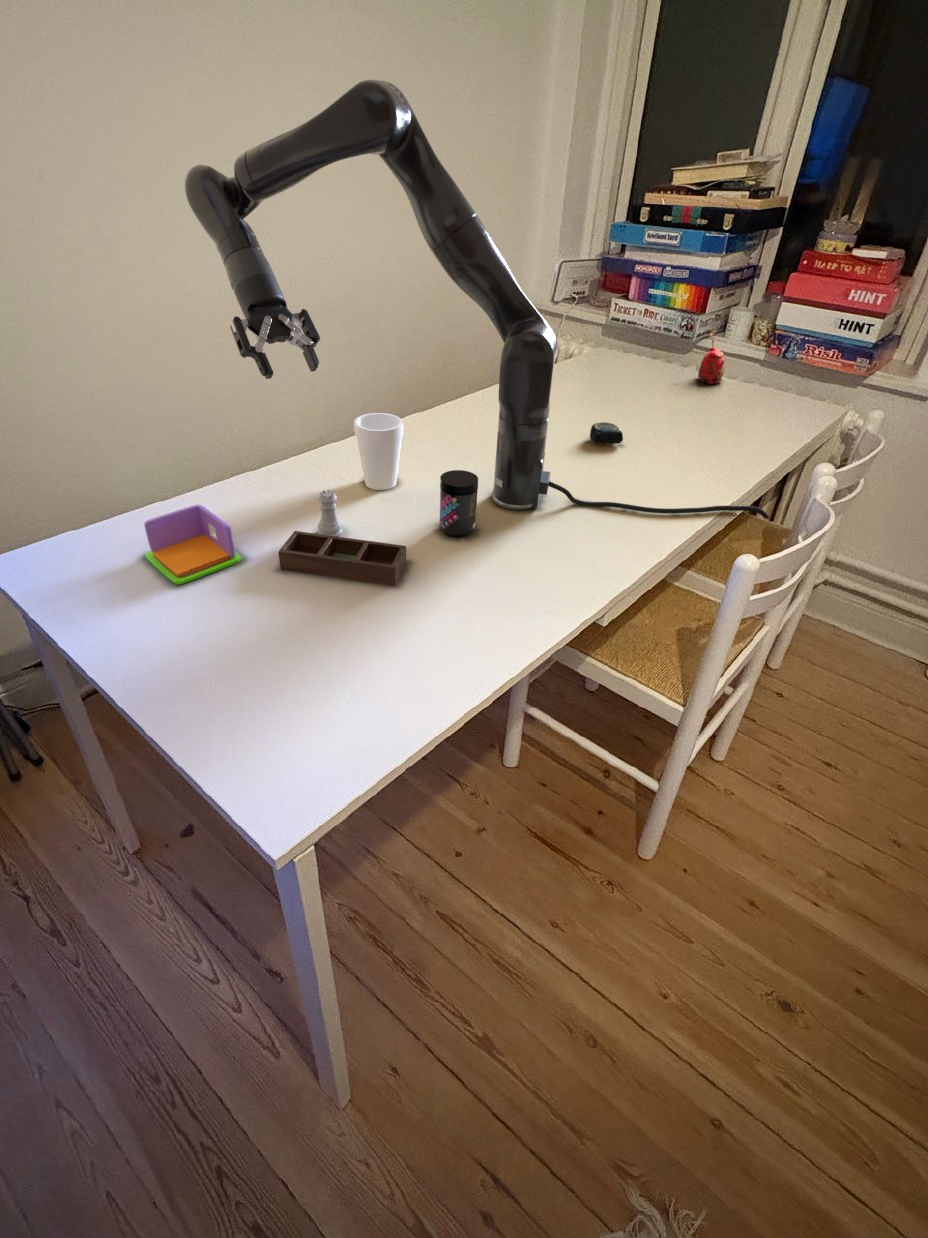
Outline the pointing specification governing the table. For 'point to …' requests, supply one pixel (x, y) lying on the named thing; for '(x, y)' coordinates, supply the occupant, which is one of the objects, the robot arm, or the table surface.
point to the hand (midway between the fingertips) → (293, 372)
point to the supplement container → (458, 503)
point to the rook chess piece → (329, 515)
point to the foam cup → (379, 448)
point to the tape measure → (605, 433)
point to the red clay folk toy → (712, 365)
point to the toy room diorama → (190, 544)
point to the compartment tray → (343, 558)
